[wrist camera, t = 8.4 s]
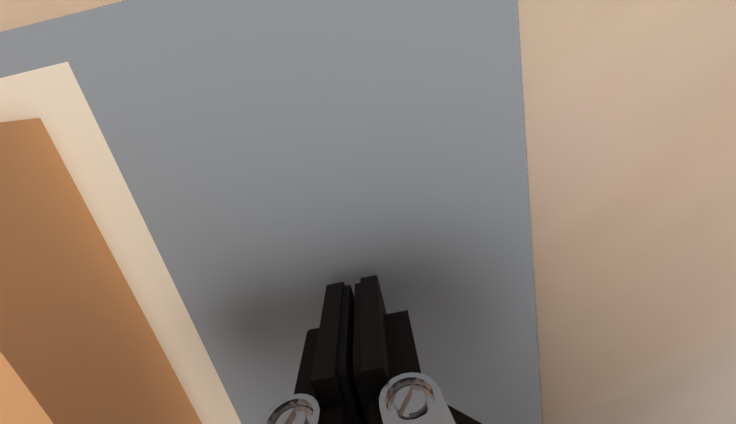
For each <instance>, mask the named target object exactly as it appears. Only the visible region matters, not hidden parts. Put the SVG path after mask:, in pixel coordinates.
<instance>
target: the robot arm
mask: <svg viewBox="0 0 736 424" xmlns="http://www.w3.org/2000/svg"><path fill="white" fill-rule="evenodd" d="M260 424H482V423H480V422H478V421H476V420H474V419H473V418H471V417H469V416H467V415H465V414H464V413H462V412H460V411H458V410H456V409H455V408H453V407H451V406H449V405H447V403H446V401H445V399H444V397H443V395H442V392H441V390H440V388H439V387H438V385H437V384H436V382H435V381H434V380H433V379H431V378H430V377H429V376H427V375H424V374H421V370H420V365H419V360H418V355H417V351H416V346H415V342H414V337H413V332H412V328H411V323H410V319H409V314H408V310H405V311H400V312H395V313H390V314H387V313H386V309H385V305H384V301H383V297H382V293H381V289H380V284H379V280H378V277H377V275H373V276H368V277H363V278H360V283H356V284H355V297H354V294H353V291H352V287H351V285H346V286H345V284H344V282H339V283H334V284H330V285H327V286H326V291H325V297H324V303H323V309H322V315H321V321H320V327H319V328H315V329H310V330H308V332H307V335H306V339H305V344H304V348H303V353H302V358H301V362H300V367H299V372H298V376H297V381H296V386H295V390H294V394H293V395H290V396H287V397H285V398H283V399H281V400H280V401H278V402H277V403H276V404H274V405H273V406H272V407H271V408H270V409H269V410H268V411H267V413H266V414H265V416H264V418H263V419H262V421H261V423H260Z"/></svg>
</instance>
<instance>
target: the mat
mask: <svg viewBox="0 0 736 424" xmlns="http://www.w3.org/2000/svg"><path fill="white" fill-rule="evenodd" d="M34 118H41V120H42V122H43V124H44V126H45V128H46V130H47V132H48V134H49V135H50V137H51V139H52V141H53V143H54V145H55V147H56V149H57V151H58V152H59V154H60V156H61V158H62V160H63V162H64V164H65V166H66V168H67V170H68V171H69V173H70V175H71V177H72V179H73V181H74V183H75V185H76V187H77V188H78V190H79V192H80V194H81V196H82V198H83V200H84V202H85V204H86V205H87V207H88V209H89V211H90V213H91V215H92V217H93V219H94V221H95V222H96V224H97V226H98V228H99V230H100V232H101V234H102V236H103V238H104V239H105V241H106V243H107V245H108V247H109V249H110V251H111V253H112V255H113V256H114V258H115V260H116V262H117V264H118V266H119V268H120V270H121V272H122V274H123V275H124V277H125V279H126V281H127V283H128V285H129V287H130V289H131V291H132V292H133V294H134V296H135V298H136V300H137V302H138V304H139V306H140V308H141V309H142V311H143V313H144V315H145V317H146V319H147V321H148V323H149V325H150V326H151V328H152V330H153V332H154V334H155V336H156V338H157V340H158V342H159V343H160V345H161V347H162V349H163V351H164V353H165V355H166V357H167V359H168V360H169V362H170V364H171V366H172V368H173V370H174V372H175V374H176V376H177V378H178V379H179V381H180V383H181V385H182V387H183V389H184V391H185V393H186V395H187V396H188V398H189V400H190V402H191V404H192V406H193V408H194V410H195V412H196V413H197V415H198V417H199V419H200V421H201V423H202V424H260V423H261V421H262V419H263V418H264V416H265V414H266V413H267V411H268V410H269V409H270V408H271V407H272V406H273V405H274V404H276V403H277V402H278V401H280V400H281V399H283V398H285V397H287V396H290V395H293V394H294V390H295V386H296V381H297V376H298V372H299V367H300V362H301V358H302V353H303V348H304V344H305V339H306V335H307V332H308V330H310V329H315V328H319V327H320V321H321V315H322V309H323V303H324V297H325V291H326V286H327V285H330V284H334V283H339V282H344V284H345V286H346V285H351V287H352V291H353V294H354V297H355V284H356V283H360V278H363V277H368V276H373V275H377V277H378V280H379V284H380V289H381V293H382V297H383V301H384V305H385V309H386V313H387V314H390V313H395V312H400V311H405V310H408V314H409V319H410V323H411V328H412V332H413V337H414V342H415V346H416V351H417V355H418V360H419V365H420V370H421V374H424V375H427V376H429V377H430V378H431V379H433V380H434V381H435V382H436V384H437V385H438V387H439V388H440V390H441V392H442V395H443V397H444V399H445V401H446V403H447V405H449V406H451V407H453V408H455V409H456V410H458V411H460V412H462V413H464V414H465V415H467V416H469V417H471V418H473V419H474V420H476V421H478V422H480V423H482V424H543V423H542V406H541V389H540V372H539V355H538V338H537V321H536V304H535V287H534V270H533V253H532V236H531V219H530V202H529V185H528V168H527V151H526V134H525V117H524V100H523V83H522V66H521V49H520V32H519V15H518V0H126V1H122V2H118V3H114V4H110V5H106V6H102V7H98V8H94V9H90V10H86V11H82V12H78V13H74V14H71V15H67V16H63V17H59V18H55V19H51V20H47V21H43V22H39V23H35V24H31V25H27V26H23V27H19V28H15V29H11V30H7V31H3V32H0V122H7V121H16V120H25V119H34Z"/></svg>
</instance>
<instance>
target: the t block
mask: <svg viewBox="0 0 736 424" xmlns="http://www.w3.org/2000/svg"><path fill="white" fill-rule="evenodd" d="M0 424H202V423H201V421H200V419H199V417H198V415H197V413H196V412H195V410H194V408H193V406H192V404H191V402H190V400H189V398H188V396H187V395H186V393H185V391H184V389H183V387H182V385H181V383H180V381H179V379H178V378H177V376H176V374H175V372H174V370H173V368H172V366H171V364H170V362H169V360H168V359H167V357H166V355H165V353H164V351H163V349H162V347H161V345H160V343H159V342H158V340H157V338H156V336H155V334H154V332H153V330H152V328H151V326H150V325H149V323H148V321H147V319H146V317H145V315H144V313H143V311H142V309H141V308H140V306H139V304H138V302H137V300H136V298H135V296H134V294H133V292H132V291H131V289H130V287H129V285H128V283H127V281H126V279H125V277H124V275H123V274H122V272H121V270H120V268H119V266H118V264H117V262H116V260H115V258H114V256H113V255H112V253H111V251H110V249H109V247H108V245H107V243H106V241H105V239H104V238H103V236H102V234H101V232H100V230H99V228H98V226H97V224H96V222H95V221H94V219H93V217H92V215H91V213H90V211H89V209H88V207H87V205H86V204H85V202H84V200H83V198H82V196H81V194H80V192H79V190H78V188H77V187H76V185H75V183H74V181H73V179H72V177H71V175H70V173H69V171H68V170H67V168H66V166H65V164H64V162H63V160H62V158H61V156H60V154H59V152H58V151H57V149H56V147H55V145H54V143H53V141H52V139H51V137H50V135H49V134H48V132H47V130H46V128H45V126H44V124H43V122H42V120H41V118H34V119H25V120H16V121H7V122H0Z"/></svg>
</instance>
